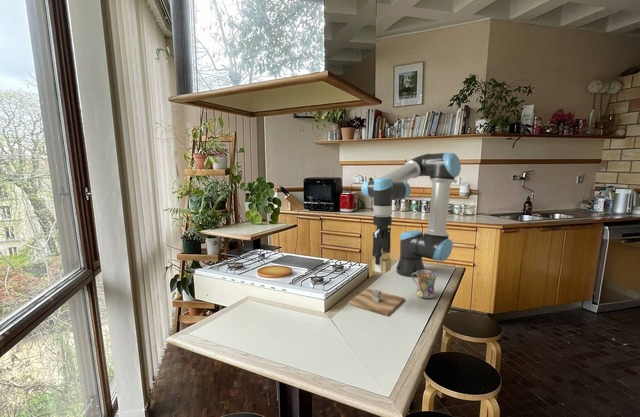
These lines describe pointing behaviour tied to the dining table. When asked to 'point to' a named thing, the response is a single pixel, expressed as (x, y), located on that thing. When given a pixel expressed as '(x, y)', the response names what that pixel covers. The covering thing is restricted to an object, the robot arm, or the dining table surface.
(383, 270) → the knob
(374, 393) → the dining table surface
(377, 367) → the dining table surface
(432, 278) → the mug
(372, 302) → the plate
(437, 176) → the robot arm
